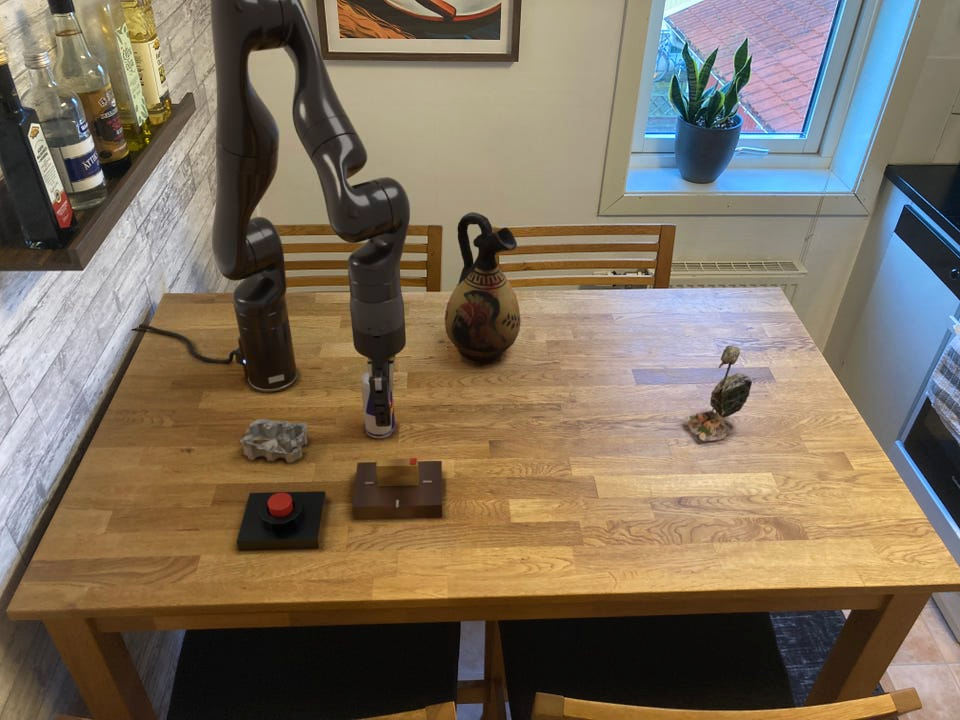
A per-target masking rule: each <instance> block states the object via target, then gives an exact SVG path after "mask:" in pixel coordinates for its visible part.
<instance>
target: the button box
mask: <svg viewBox="0 0 960 720" xmlns="http://www.w3.org/2000/svg"><path fill="white" fill-rule="evenodd" d="M277 493H287V494H289V495H290V496H291V498H292V502H293V510H292V512H291V513H290V514H289V515H287V516H284V517H274V516H272V515H271V514H270V512H269V507H268V500H269V498H270V497H271V496H273V495H274V494H277ZM327 503H328V502H327V493H326V491H325V490H322V491H321V490H320V491H319V490H315V491H314V490H313V491H312V490H311V491H277V492H276V491H275V492H273V491H272V492H269V491H268V492H249V494H248V498H247V502H246V506H245V509H244V513H243V516H242V520H241V523H240V528H239V531H238V535H237V539H236V545H237V548H238V552H242V551H243V552H246V551H247V552H249V551H280V550H283V551H284V550H285V551H287V550H319V549H320V545H321V539H322V534H323V533H322V532H323V527H324V526H323V525H324V522H325V521H324V520H325V514H326V507H327Z"/></svg>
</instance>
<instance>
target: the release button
mask: <svg viewBox="0 0 960 720" xmlns="http://www.w3.org/2000/svg"><path fill="white" fill-rule="evenodd" d="M268 507H269V512H270V514H271V515H272V516H274V517H284V516H287V515H289V514H290V513H291V512H292V510H293V502H292V498H291V496H290V495H289V494H287V493H277V494H274V495H273V496H271V497H270V498H269V500H268Z"/></svg>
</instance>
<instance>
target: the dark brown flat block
mask: <svg viewBox="0 0 960 720" xmlns="http://www.w3.org/2000/svg"><path fill="white" fill-rule="evenodd" d="M442 462H443V461H442V460H418V472H419V485H418V486H378V480H377V468H376V464H377V461H361V462H360V461H359V462H356V463H357V464H356V470H355V471H356V472H355V481H354V489H353V497H352V507H351V508H352V516H353V520H354V521H355V520H356V521H358V520H359V521H360V520H361V521H363V520H396V519H397V520H398V519H399V520H400V519H404V520H405V519H442V518H443V463H442Z"/></svg>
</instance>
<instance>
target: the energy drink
mask: <svg viewBox="0 0 960 720" xmlns="http://www.w3.org/2000/svg"><path fill="white" fill-rule="evenodd" d="M360 386H361V399H362V409H363V417H364V420H363V421H364V430H365V433H366V434H367V435H368V436H369V437H371V438H372V439H373V438H374V439H386V438H389V437H390V436H391V435H392V434H393V433H395V430H396V421H395V420H396V419H395V418H396V417H395V404H394V403H395V402H394V390H393V391H391V392H390V402H391V405H390V414H391V425H390V426H386V427H378V426H377V425H376V419H375V413H372V410H371V395H370V390H369V373H368V371H367V370H366V371H365V372H364V373H363V374H362V376H361V380H360Z"/></svg>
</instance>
